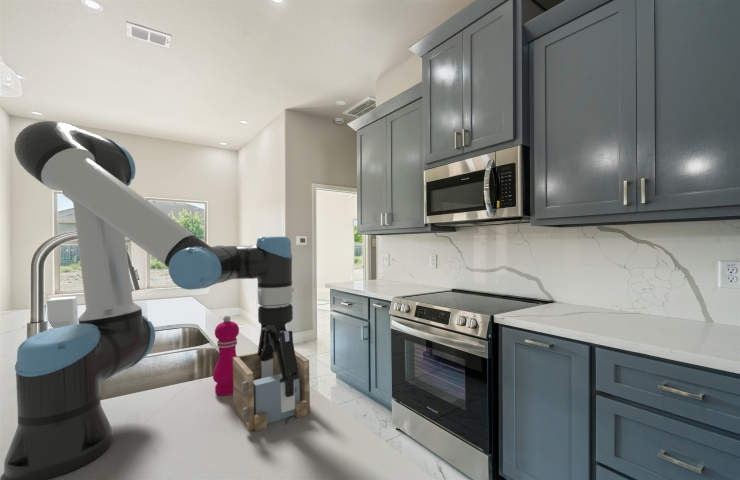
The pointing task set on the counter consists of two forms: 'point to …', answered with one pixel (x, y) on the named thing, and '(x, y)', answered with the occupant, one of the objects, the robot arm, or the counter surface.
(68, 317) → the supplement box
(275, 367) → the cabinet
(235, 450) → the counter surface
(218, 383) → the pepper mill
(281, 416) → the door
